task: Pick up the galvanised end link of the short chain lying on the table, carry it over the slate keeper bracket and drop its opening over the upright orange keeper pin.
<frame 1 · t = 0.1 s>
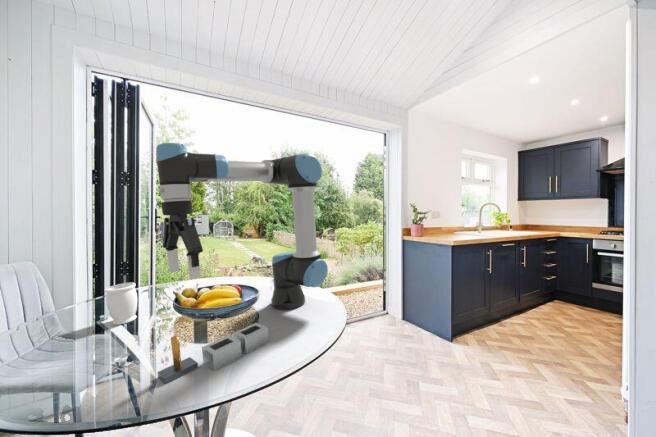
hand: (184, 274, 82), 28 cm above the table, tool pointing down, fingers open, 13 cm apart
jar: (125, 321, 122), on the table
end link: (222, 359, 88), on the table
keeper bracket: (178, 372, 83), on the table
grey slotted holder: (252, 344, 96), on the table
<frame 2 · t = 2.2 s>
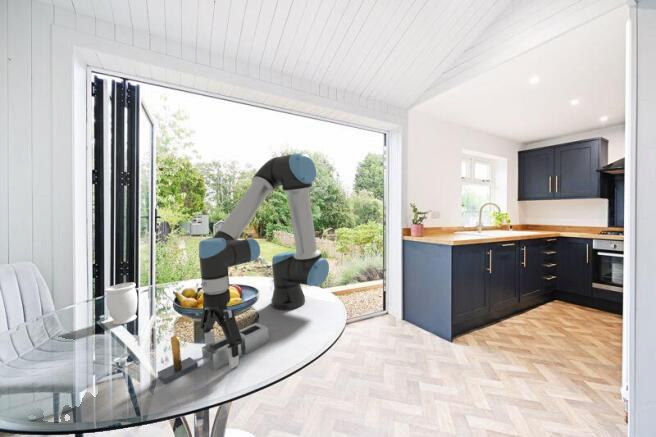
hand: (222, 358, 87), 0 cm above the table, tool pointing down, fingers open, 13 cm apart
nothing on the table moved.
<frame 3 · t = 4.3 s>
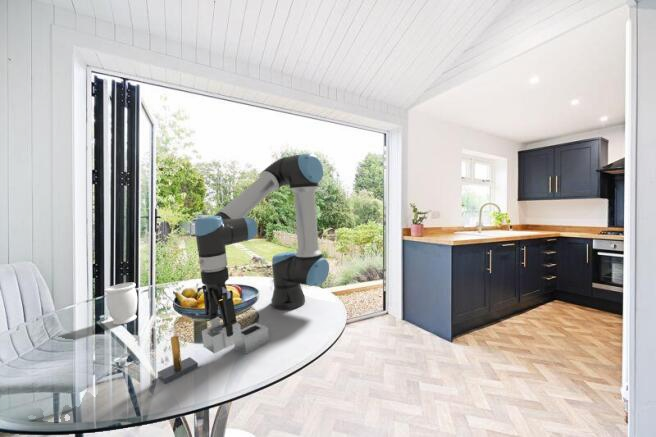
hand: (223, 341, 88), 5 cm above the table, tool pointing down, fingers closed on end link, 6 cm apart
end link: (222, 343, 88), point 5 cm above the table, touching gripper
everything else where it was.
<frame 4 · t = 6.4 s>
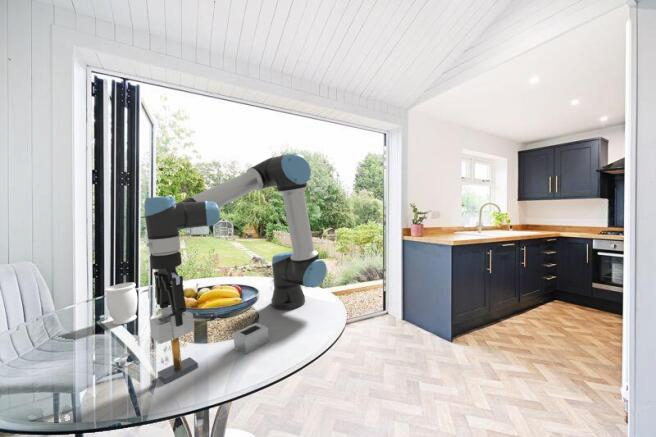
hand: (173, 332, 81), 12 cm above the table, tool pointing down, fingers closed on end link, 6 cm apart
end link: (173, 333, 81), point 12 cm above the table, touching gripper
everything else where it was.
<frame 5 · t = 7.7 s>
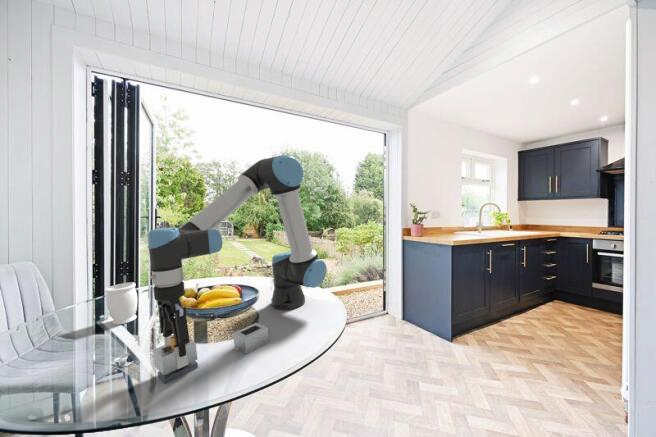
hand: (177, 361, 82), 3 cm above the table, tool pointing down, fingers closed on end link, 6 cm apart
end link: (176, 363, 82), point 3 cm above the table, touching gripper
everything else where it was.
when the fingers open (2 cm above the table, at t = 8.8 s): end link stays where it is, resting on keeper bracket.
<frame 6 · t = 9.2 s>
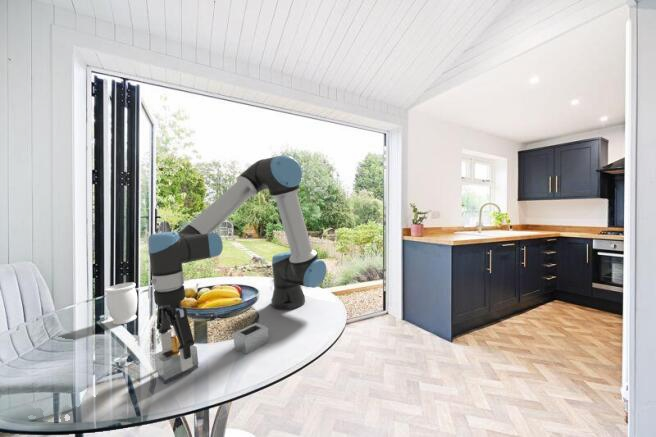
hand: (177, 360, 82), 3 cm above the table, tool pointing down, fingers open, 12 cm apart
end link: (177, 367, 82), point 1 cm above the table, touching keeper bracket
everything else where it was.
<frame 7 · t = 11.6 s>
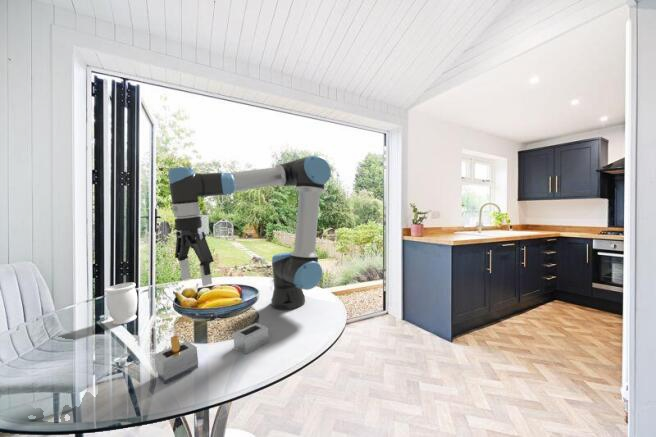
hand: (196, 281, 93), 22 cm above the table, tool pointing down, fingers open, 13 cm apart
nothing on the table moved.
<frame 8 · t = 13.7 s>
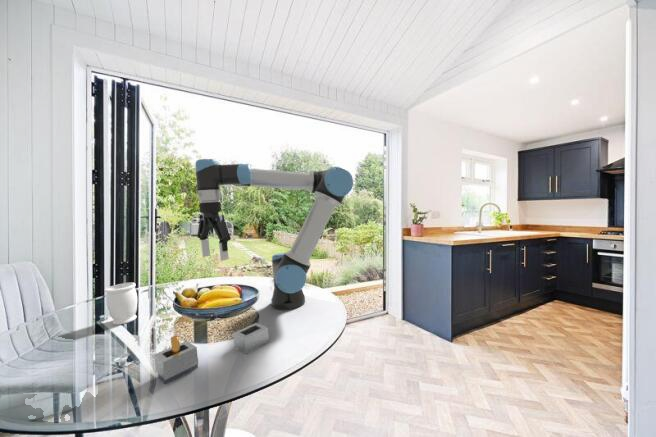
hand: (215, 258, 109), 27 cm above the table, tool pointing down, fingers open, 13 cm apart
nothing on the table moved.
at the end: end link 0.1 cm off-centre on the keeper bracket, point 1.5 cm above the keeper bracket's base; the gripper is holding nothing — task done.
